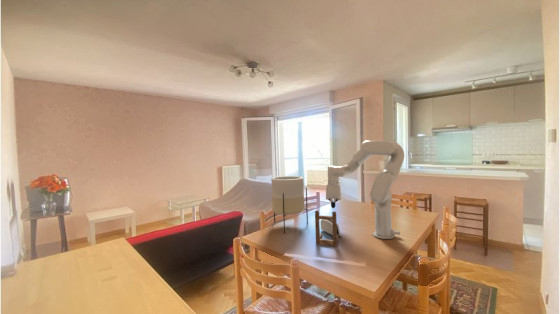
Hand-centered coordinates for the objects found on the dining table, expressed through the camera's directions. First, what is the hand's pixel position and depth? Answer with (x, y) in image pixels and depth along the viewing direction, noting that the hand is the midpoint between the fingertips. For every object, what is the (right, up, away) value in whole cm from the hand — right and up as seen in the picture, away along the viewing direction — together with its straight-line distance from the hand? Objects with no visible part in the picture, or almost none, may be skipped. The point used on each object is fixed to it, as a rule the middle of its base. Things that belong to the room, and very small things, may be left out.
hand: (333, 207), depth 168 cm
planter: (-34, -15, +2) cm, 37 cm away
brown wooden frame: (-10, -14, -30) cm, 34 cm away
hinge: (-5, -14, -16) cm, 22 cm away
